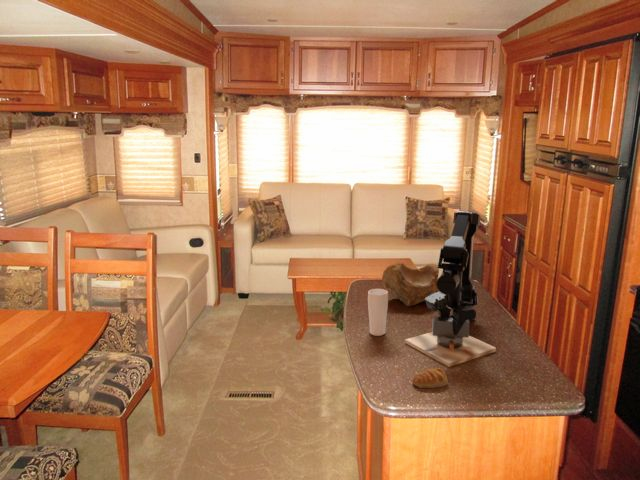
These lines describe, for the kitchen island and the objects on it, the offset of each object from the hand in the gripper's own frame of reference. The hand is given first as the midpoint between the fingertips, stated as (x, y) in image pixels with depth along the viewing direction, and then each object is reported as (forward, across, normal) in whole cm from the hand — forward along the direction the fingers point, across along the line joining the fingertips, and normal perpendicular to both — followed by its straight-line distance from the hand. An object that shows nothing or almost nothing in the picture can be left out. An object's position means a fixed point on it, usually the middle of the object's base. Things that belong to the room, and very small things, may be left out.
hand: (449, 330), depth 168 cm
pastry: (+6, +18, -18) cm, 26 cm away
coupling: (+4, +1, -1) cm, 4 cm away
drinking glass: (+6, -18, -17) cm, 25 cm away
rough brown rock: (+6, -42, +10) cm, 43 cm away
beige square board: (+6, 0, 0) cm, 6 cm away
